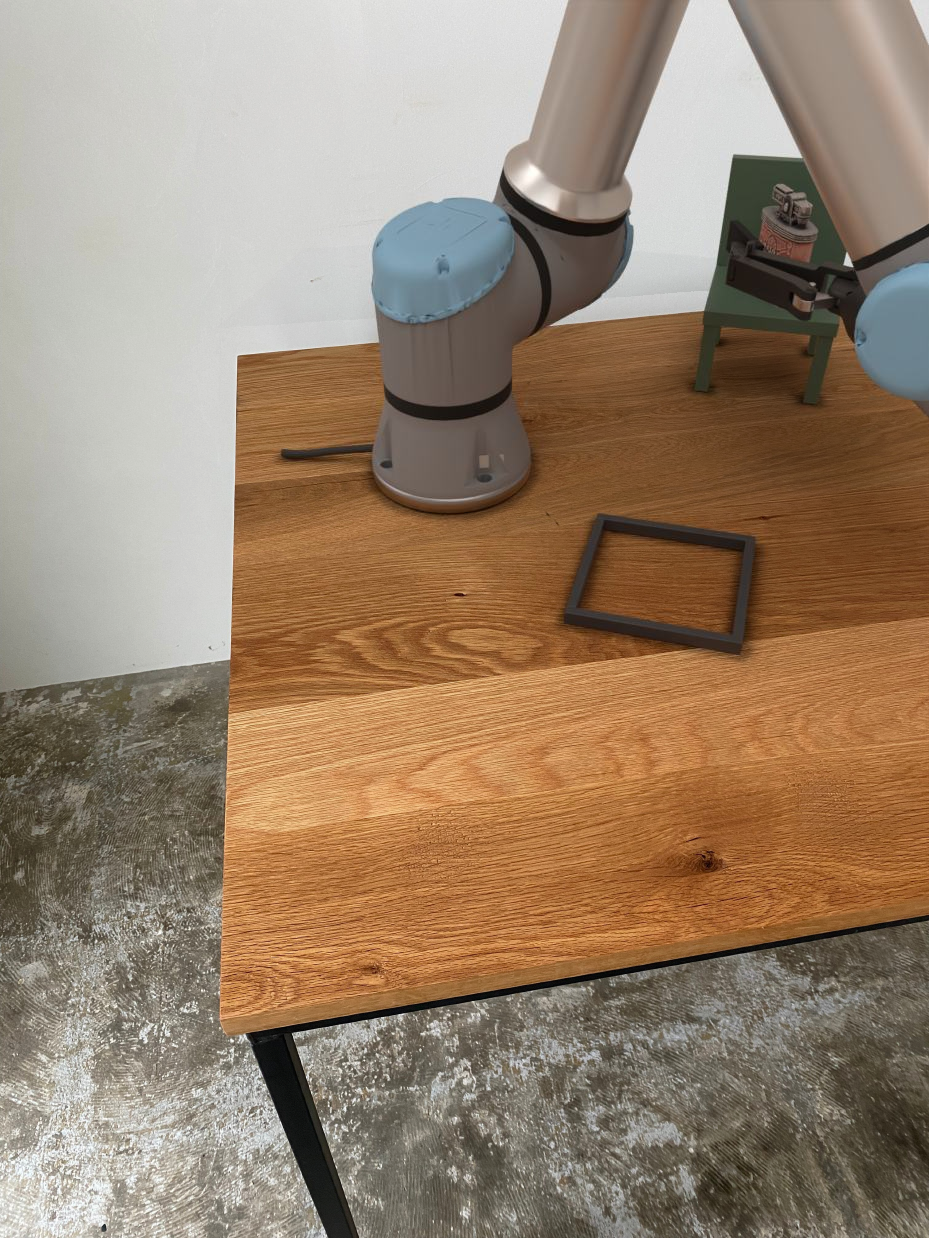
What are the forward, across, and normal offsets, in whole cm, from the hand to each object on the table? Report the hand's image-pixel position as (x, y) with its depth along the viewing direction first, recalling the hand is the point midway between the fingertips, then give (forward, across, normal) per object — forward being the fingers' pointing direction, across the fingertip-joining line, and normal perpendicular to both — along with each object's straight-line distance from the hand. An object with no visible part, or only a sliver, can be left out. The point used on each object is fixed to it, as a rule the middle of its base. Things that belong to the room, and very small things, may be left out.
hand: (800, 228), depth 89 cm
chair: (+4, 0, -16) cm, 17 cm away
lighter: (+3, 0, -8) cm, 8 cm away
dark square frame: (-30, -21, -17) cm, 40 cm away
